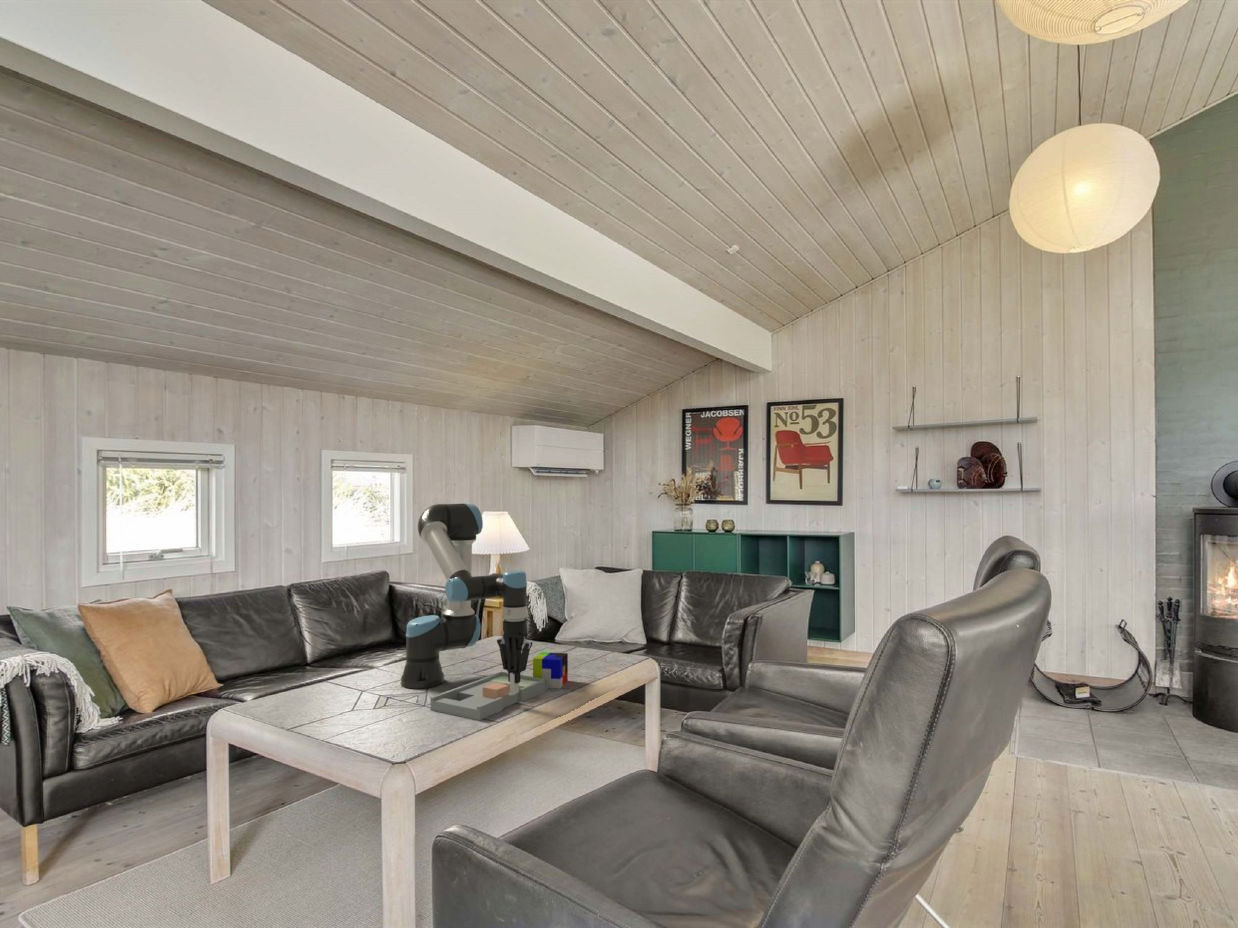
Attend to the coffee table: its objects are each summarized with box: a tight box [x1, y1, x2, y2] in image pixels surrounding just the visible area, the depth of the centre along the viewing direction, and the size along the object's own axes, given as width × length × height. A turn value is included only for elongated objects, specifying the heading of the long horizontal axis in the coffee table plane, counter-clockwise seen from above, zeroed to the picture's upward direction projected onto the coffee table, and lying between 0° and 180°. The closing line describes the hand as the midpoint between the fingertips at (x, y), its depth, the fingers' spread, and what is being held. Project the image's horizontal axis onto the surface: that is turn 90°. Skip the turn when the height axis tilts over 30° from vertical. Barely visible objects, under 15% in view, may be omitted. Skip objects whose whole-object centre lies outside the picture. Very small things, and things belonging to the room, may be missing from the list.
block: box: [483, 683, 509, 699], centre depth 226 cm, size 6×6×3 cm
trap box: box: [429, 671, 548, 721], centre depth 231 cm, size 20×35×4 cm, turn 150°
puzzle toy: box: [532, 651, 569, 689], centre depth 251 cm, size 10×10×10 cm
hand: (514, 692), depth 224 cm, fingers closed
